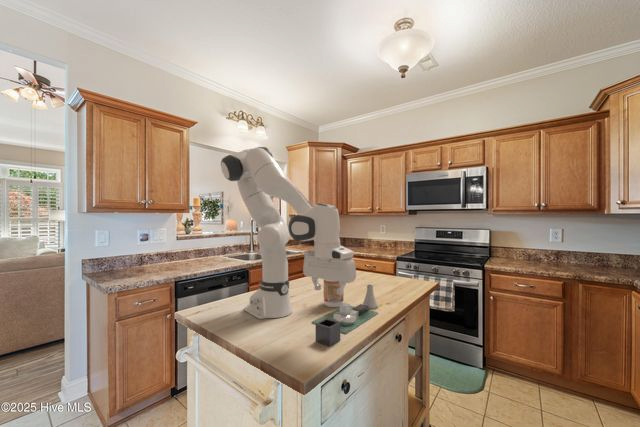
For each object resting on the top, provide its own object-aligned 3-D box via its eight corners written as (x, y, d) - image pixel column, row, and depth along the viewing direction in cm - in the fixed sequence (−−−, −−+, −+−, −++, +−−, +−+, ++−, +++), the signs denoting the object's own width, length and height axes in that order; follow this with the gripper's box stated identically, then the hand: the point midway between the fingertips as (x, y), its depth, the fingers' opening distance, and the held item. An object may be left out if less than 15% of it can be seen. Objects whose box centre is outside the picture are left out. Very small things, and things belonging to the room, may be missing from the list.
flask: (378, 309, 122) (378, 287, 122) (361, 308, 123) (361, 286, 123) (377, 304, 129) (377, 283, 129) (362, 303, 130) (362, 282, 130)
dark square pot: (315, 341, 92) (315, 323, 92) (326, 335, 97) (326, 318, 97) (329, 346, 88) (329, 328, 88) (340, 340, 93) (340, 322, 93)
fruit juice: (319, 303, 130) (319, 245, 130) (335, 300, 136) (335, 243, 136) (331, 309, 123) (331, 247, 123) (347, 305, 128) (347, 245, 128)
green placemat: (311, 323, 107) (311, 305, 107) (346, 306, 127) (346, 290, 127) (345, 334, 97) (345, 314, 97) (377, 313, 117) (377, 297, 117)
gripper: (298, 250, 96) (299, 289, 96) (347, 254, 83) (348, 299, 83) (310, 248, 101) (311, 285, 101) (358, 252, 88) (359, 294, 88)
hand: (328, 292), depth 92 cm, fingers open, 8 cm apart
